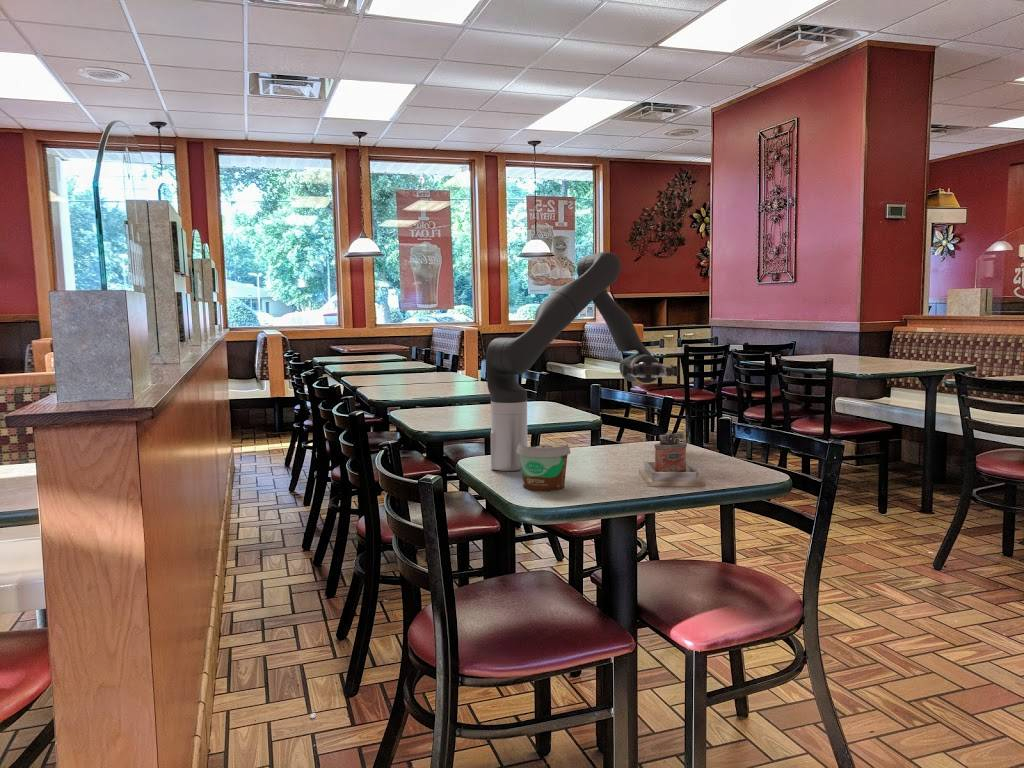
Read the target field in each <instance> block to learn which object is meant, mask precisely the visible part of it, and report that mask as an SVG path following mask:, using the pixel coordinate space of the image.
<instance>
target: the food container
mask: <svg viewBox="0 0 1024 768" xmlns="http://www.w3.org/2000/svg"><path fill="white" fill-rule="evenodd" d="M517 454H520V461H521V470H520V472H521V478H522V480H521V481H522V487H523V489H525V490H528V491H532V492H540V493H541V492H544V493H545V492H556V491H557V492H558V491H560V490H562V489H564V488H565V485H566V483H565V482H566V473H567V472H566V471H567V463H568V455H570V454H571V448H570V446H569V443H567V444H565V445H561V446H549V445H536V446H528V445H527V446H523V445H520V442H519V445H518V448H517Z"/></svg>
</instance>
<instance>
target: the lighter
mask: <svg viewBox="0 0 1024 768" xmlns="http://www.w3.org/2000/svg"><path fill="white" fill-rule="evenodd" d="M658 438H659V442H658V443H654V449H655V450H654V451H655V452H654V459H655V460H654V461H655V472H687V471H686V461H687V447H688V445H687V444H688V443H687V442H682V441H681V442H680V440H683V439H685V434H684V432H675V433H670V432H666V433H665V434H659V437H658Z"/></svg>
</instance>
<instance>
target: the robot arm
mask: <svg viewBox="0 0 1024 768" xmlns="http://www.w3.org/2000/svg"><path fill="white" fill-rule="evenodd" d="M621 270H622V269H621V260H620V258H619V257H618V256H617V254H615V253H613V252H609V251H602V252H601V251H600V252H596V253H593V254H589V255H588V254H587V255H585V256H583V257H581V258H580V259H579V260H578V262H577V265H576V273H577V277H576V278H574V279H573V280H571V281H569V282H567V283H566V284H563V285H562V286H559V287H558V288H557V289H555V290H554V291H553V292H551V293H550V294H549V295H548V296H547V297H546V298H545V299H544V300H543V301H542V302H541V303H539V306H538V307H537V308H536V312H535V317H534V322H533V324H532V326H530V328H528V329H527V330H526V331H525V332H524V333H522V334H521V335H519V336H518V337H496V338H494V339H493V340H491V341H490V342H489V344H488V345H487V349H486V356H485V366H486V384H487V390H488V393H489V395H490V424H491V425H490V427H491V430H490V470H494V471H495V470H496V471H502V472H503V471H504V472H510V471H511V472H512V471H521V461H520V454H517V448H518V445H519V442H520V445H523V446H527V447H528V391H527V390H526V389H525V388H524V387H522V385H520V384H519V383H518V381H516V377H515V376H516V375H522V374H525V373H526V372H527V371H528V370H530V369H531V368H532V366H533V365H534V364H535V363H536V361H538V359H539V358H540V356H541V355H542V354H543V352H544V351H545V350H546V349H547V347H548V346H549V345H550V344H551V343H552V342H553V341H554V340H555V339H556V338H557V337H558V336H559V335H560V333H562V331H563V330H565V329H566V328H567V327H568V326H569V325H570V324H571V323H572V322H573V321H574V320H575V319H576V318H577V317H578V315H579V314H580V313H582V311H584V309H585V308H586V307H588V306H589V304H590V303H591V302H592V303H593V304H594V306H595V307H596V309H597V310H598V313H599V314H600V315H601V317H602V319H603V321H604V322H605V324H606V326H607V329H608V330H609V332H610V336H611V337H612V340H613V342H614V344H615V346H616V349H617V350H618V351H619V352H622V353H626V352H631V351H636V353H634V354H632V355H629V356H627V357H624V358H623V359H622V360H621V361H620V363H619V371H620V375H621V376H622V377H623V378H624V379H625V380H626V381H627V382H636V381H638V382H640V383H643V384H651V383H653V382H655V381H656V380H658V378H665V377H673V376H674V377H678V376H679V366H677V365H673V364H671V365H666V364H665V363H660V362H659V360H658V359H657V358H656V357H654V356H653V355H652V353H651V352H650V351H649V350H648V349H647V347H646V346H645V345H644V343H642V340H641V339H640V336H639V335H638V332H637V330H636V327H635V325H634V323H633V321H632V318H631V317H630V315H629V314H628V313H627V312H626V311H625V310H624V309H623V308H622V307H621V306H620V305H619V304H618V303H617V302H616V301H615V300H614V299H613V298H612V297H611V296H610V294H609V292H608V291H607V288H609V287H610V286H611V285H613V284H614V283H615V282H616V281H617V280H618V278H619V276H620V274H621V273H620V272H621Z"/></svg>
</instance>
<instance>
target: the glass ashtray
mask: <svg viewBox="0 0 1024 768" xmlns="http://www.w3.org/2000/svg"><path fill="white" fill-rule="evenodd" d="M686 471H687V472H655V460H651V461H650V460H649V461H648V460H646V461H645V460H644V461H643V468H642V469H641V468H639V469H638V474H639V476H640V477H641V479H642V481H643V482H644V484H645V485H646V487H706V481H705V480H704V479H703V478H702V477H701V476H700V472H699V471H698V470H697V469H696V468H695V467H694V466H693V465H692V464H691V463H690V462H689V461H687V460H686Z"/></svg>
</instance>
